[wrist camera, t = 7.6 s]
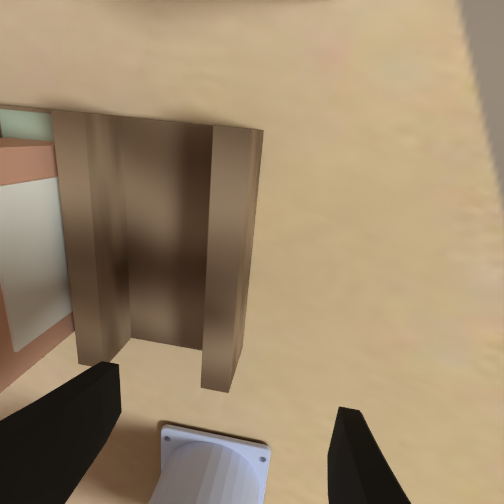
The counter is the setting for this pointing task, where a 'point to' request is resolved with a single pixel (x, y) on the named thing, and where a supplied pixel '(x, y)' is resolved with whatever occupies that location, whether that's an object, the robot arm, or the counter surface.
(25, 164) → the pink rectangular block
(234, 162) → the rack
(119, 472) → the counter surface
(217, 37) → the counter surface
